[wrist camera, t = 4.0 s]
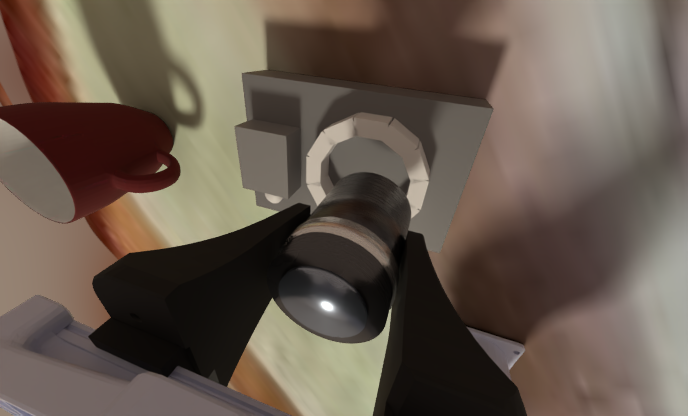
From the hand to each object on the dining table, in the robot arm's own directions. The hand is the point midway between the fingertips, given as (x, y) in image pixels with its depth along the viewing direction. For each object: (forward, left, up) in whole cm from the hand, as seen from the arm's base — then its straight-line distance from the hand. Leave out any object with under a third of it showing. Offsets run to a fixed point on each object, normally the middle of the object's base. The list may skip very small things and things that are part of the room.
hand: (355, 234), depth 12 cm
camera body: (0, +2, -10) cm, 10 cm away
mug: (-2, +21, -10) cm, 24 cm away
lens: (0, 0, -2) cm, 2 cm away
